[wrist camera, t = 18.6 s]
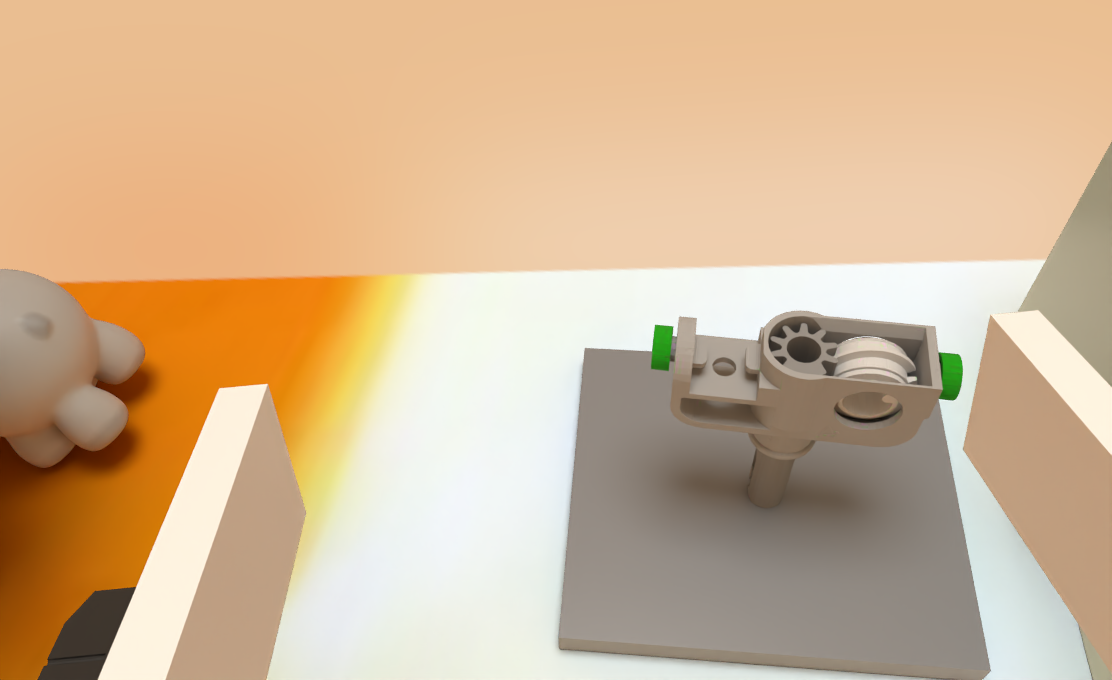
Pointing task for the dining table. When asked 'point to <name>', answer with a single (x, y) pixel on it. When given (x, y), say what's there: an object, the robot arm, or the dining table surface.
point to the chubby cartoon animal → (58, 371)
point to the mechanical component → (807, 386)
